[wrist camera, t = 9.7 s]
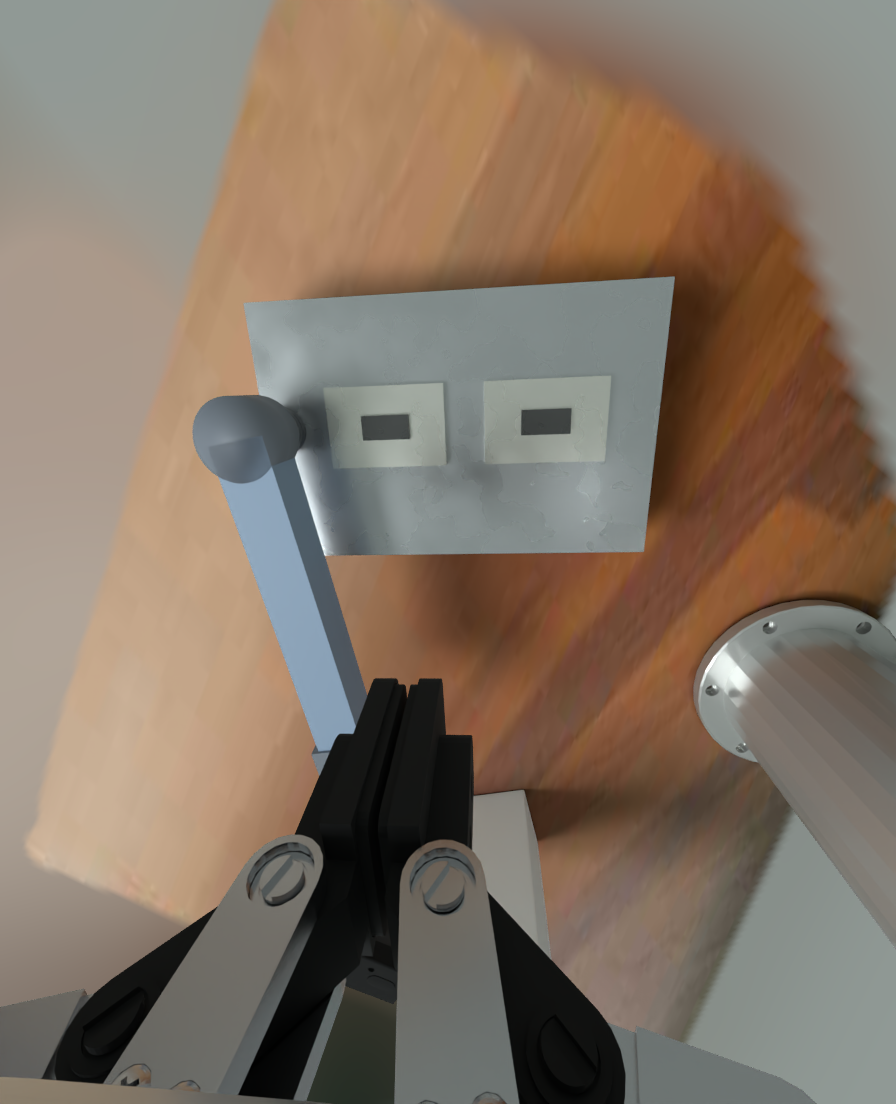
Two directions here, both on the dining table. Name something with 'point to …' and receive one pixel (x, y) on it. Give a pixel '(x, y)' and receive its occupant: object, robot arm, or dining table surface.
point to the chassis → (472, 414)
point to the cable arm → (285, 555)
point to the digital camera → (376, 972)
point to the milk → (511, 860)
